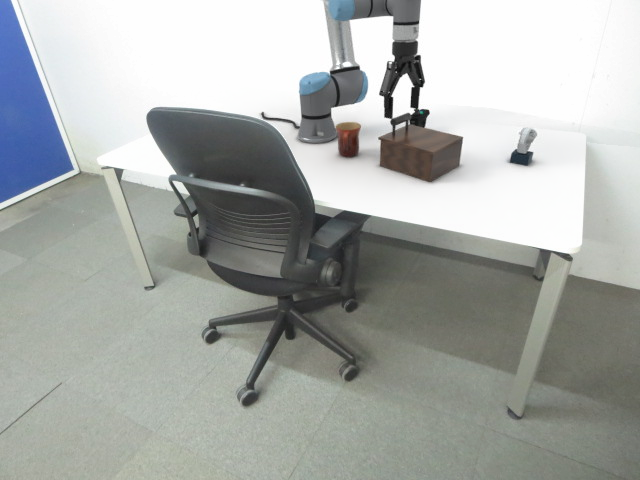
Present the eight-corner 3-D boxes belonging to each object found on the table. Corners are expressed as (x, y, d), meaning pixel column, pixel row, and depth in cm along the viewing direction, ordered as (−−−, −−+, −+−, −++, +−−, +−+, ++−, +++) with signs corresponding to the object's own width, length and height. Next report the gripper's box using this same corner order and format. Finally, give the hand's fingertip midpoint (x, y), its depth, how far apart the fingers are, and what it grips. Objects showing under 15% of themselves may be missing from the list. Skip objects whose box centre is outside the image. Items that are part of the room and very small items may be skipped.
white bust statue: (533, 159, 140) (541, 126, 134) (525, 167, 134) (533, 133, 129) (515, 155, 143) (522, 123, 137) (507, 163, 138) (514, 130, 132)
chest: (379, 166, 141) (380, 140, 136) (409, 151, 150) (411, 127, 146) (430, 182, 129) (432, 154, 124) (459, 165, 138) (462, 139, 133)
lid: (378, 139, 137) (378, 120, 134) (409, 126, 146) (410, 108, 143) (432, 154, 124) (434, 134, 121) (463, 139, 133) (465, 119, 130)
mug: (338, 149, 156) (337, 121, 150) (362, 150, 154) (362, 122, 148) (332, 162, 146) (331, 133, 140) (358, 163, 144) (358, 133, 139)
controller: (406, 136, 163) (408, 110, 158) (419, 127, 172) (421, 102, 166) (416, 138, 161) (418, 112, 156) (429, 128, 170) (432, 103, 164)
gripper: (388, 47, 115) (386, 124, 127) (440, 35, 129) (433, 105, 141) (367, 45, 120) (367, 120, 131) (419, 34, 134) (415, 102, 145)
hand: (401, 113), depth 136 cm, fingers open, 13 cm apart
